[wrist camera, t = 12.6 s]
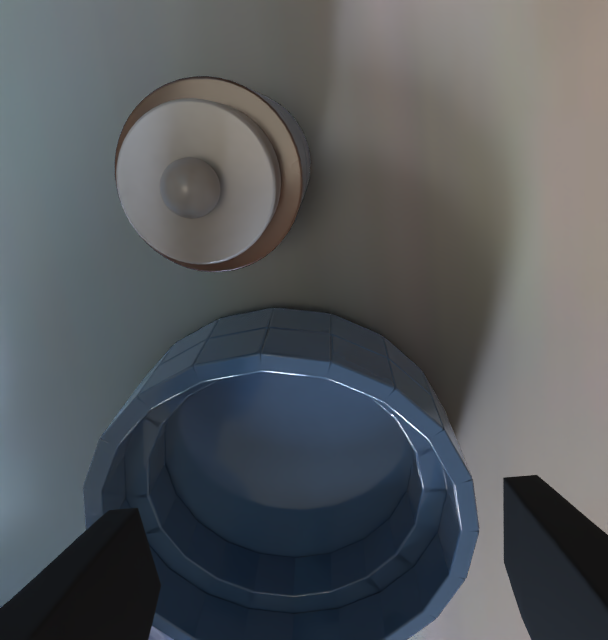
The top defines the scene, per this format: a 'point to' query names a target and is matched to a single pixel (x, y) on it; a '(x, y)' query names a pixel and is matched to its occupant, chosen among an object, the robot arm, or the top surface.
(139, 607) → the robot arm
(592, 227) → the top surface
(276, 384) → the bowl
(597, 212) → the top surface
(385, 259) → the top surface
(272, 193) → the pepper mill
